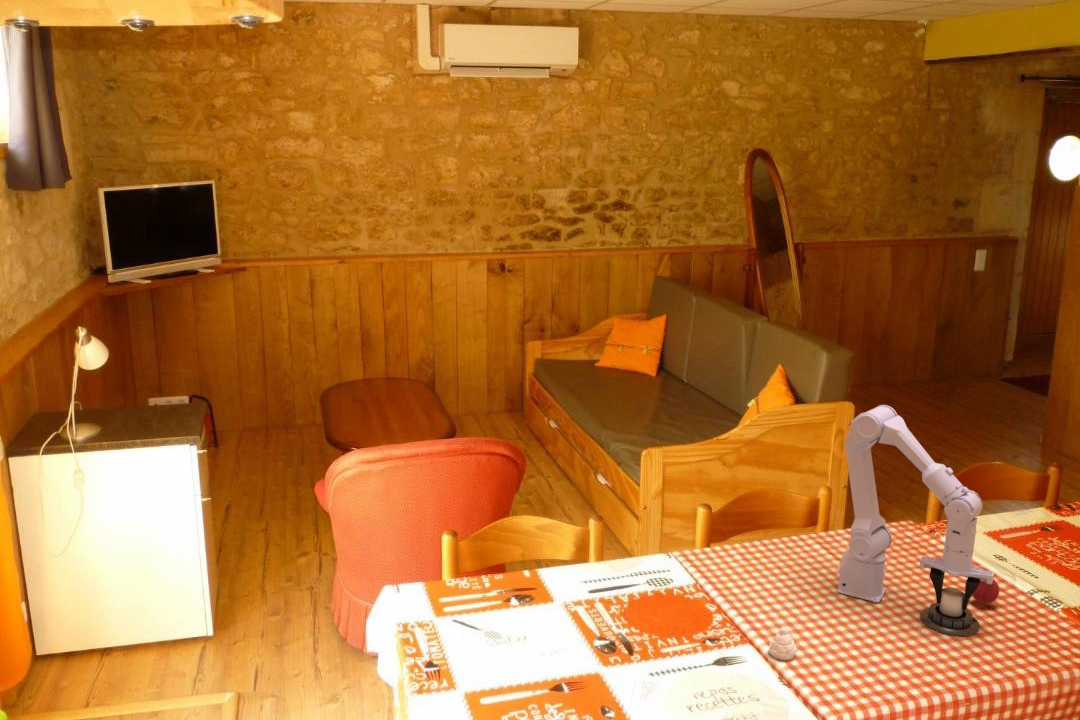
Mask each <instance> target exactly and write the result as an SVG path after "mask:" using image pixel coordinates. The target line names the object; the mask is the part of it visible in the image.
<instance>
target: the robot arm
mask: <svg viewBox="0 0 1080 720" xmlns="http://www.w3.org/2000/svg"><path fill="white" fill-rule="evenodd" d="M877 442H878V443H879V444H884V445H891V446H895V447H896V448H897V449H898V450H899V451H900V452H901V453H902V454H903V455H904V456H905V457H906V458H907V459H908V460H909V461H910V462H911V463H912V464H913V465H914V466H915V467H916V468H917V469H918V470H919V471H920V472H921V477H922V478H921V480H922V482H923V483H924V485H925V486H926V487H927V488H928V489H929V491H930V492H931V493H932V494H933V495H934V496H935V497H936V498H937V499H938V501H939V502H940V503H941V504H942V505H943V506H944V509H943V511H944V514H945V516H946V518H947V524H946V529H945V530H946V531H945V538H944V539H945V540H944V548H943V555H942V558H937V557H934V558H933V557H927V556H921V557H920V560H919V568H920V569H929V570H930V572H929V579H930V580H931V583H932V585H933V588H934V591H935V599H936V602H937V603H938V604H940V601H941V593H942V589H943V586H944V579H945V574H946V573H947V574H948V575H949V576H953V577H959V576H960V577H964V578H967V579H966V581H965V587H964V588H965V589H964V594H965V597H964V602H963V606H962V610H966V609H968V605H969V601H970V600H971V597H972V596H973V595H972V594H973V593H974V592H975V590H976V589H977V588H978V586H979V584H980V581H985V582H986V583H987V584H992V582H993V579H994V575H995V572H991V571H989V570H985V569H982V568H981V567H978V566H974V565H972V563H973V556H974V550H975V549H974V548H975V541H976V534H977V524H978V523H977V522H978V518H977V517H978V515H980V514H981V512H982V511H983V505H984V504H983V501H982V499H981V497H980V496H979V494H978V493H977V492H975V491H974V490H971V489H969V488H968V487H967V486H964V485H963V483H961V482H960V480H959V479H958V478H957V477H956V476H955V475H954V474H953V473H954V470H953V469H952V467H947V466H946V465H945V464H943V463H938V462H935V461H934V460H933V458H932V457H931V456H930V455H929V453H928V452H927V451H926V450H925V448H924V447H923V446H922V445H921V443H920V442H919V440H917V438H916V437H915V436H914V435H913V433H912V432H911V431H910V429H909V427H907V424H906V422H905V420H904V418H903V417H902V416H901V415H898V413H897V412H896V410H895V409H894V408H893V407H892V406H889V405H888V404H880V405H877V406H876V407H874V408H871V409H870V410H867V411H866V412H860V413H859V414H858V415H857V416H855V418H853V419H852V420H851V421H850V428H849V431H848V434H847V435H846V438H845V441H844V447H845V455H846V461H847V469H848V476H849V484H850V491H851V499H852V505H853V513H854V520H853V522H852V525H851V527H850V539H849V542H848V549H849V551H848V550H845V551H844V552H843V554H842V557H841V560H840V567H839V574H838V575H839V576H838V586H837V589H836V590H837V591H836V592H837V593H838V594H842V595H847V596H849V597H853V598H858V599H862V600H866V601H868V602H873V603H877V604H879V603H880V602H881V600H882V598H883V597H884V595H885V594H886V591H887V587H885V586H884V585H883V583H884V576H885V565H886V550H888V549H889V548H890V547H891V545H892V542H893V541H892V540H893V539H892V534H891V532H890V531H889V529H888V527H887V523H886V520H885V518H883V516H881V514H880V508H879V500H878V494H877V486H876V478H875V471H874V464H873V456H872V447H873V446H874V445H875V444H876V443H877Z"/></svg>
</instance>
